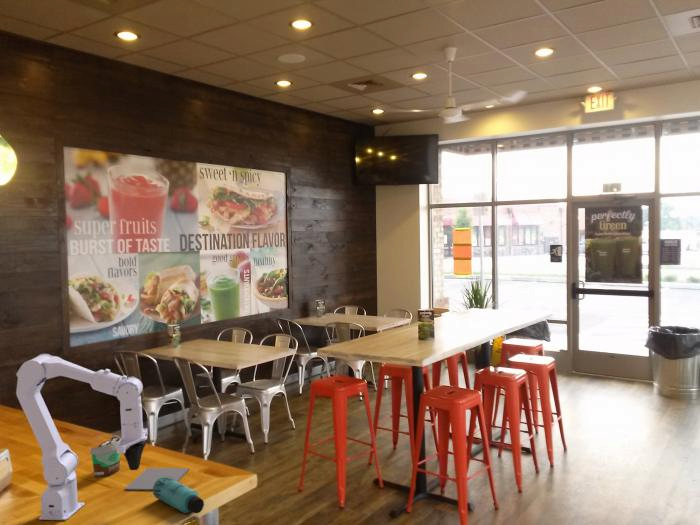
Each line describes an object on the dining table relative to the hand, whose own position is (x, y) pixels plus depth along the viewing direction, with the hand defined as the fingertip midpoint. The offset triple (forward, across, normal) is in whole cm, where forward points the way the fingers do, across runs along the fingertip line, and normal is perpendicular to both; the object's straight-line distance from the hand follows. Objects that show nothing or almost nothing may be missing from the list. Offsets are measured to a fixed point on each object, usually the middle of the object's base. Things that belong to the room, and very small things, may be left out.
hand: (134, 469), depth 167 cm
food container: (+11, +23, +19) cm, 32 cm away
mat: (+10, +17, +1) cm, 20 cm away
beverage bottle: (+7, +6, -4) cm, 10 cm away
